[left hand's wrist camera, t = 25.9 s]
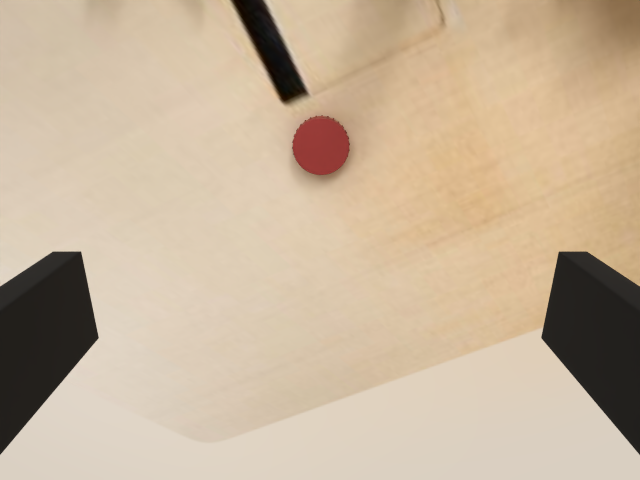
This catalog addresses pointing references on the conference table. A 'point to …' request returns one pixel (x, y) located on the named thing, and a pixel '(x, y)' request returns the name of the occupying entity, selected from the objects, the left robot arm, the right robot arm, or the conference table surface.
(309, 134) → the lid
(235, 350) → the conference table surface
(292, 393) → the conference table surface
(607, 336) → the left robot arm
